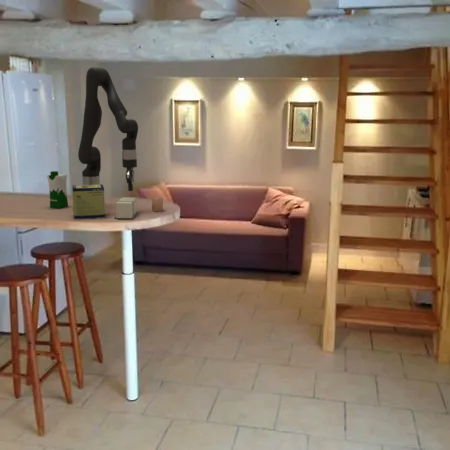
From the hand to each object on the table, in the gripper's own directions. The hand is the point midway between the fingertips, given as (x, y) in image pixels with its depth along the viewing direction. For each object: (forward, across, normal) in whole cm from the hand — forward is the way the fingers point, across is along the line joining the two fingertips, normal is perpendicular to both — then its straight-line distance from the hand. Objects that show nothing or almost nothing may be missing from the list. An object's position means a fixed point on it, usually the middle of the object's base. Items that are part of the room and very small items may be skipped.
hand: (130, 190), depth 283 cm
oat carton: (+7, +4, 0) cm, 8 cm away
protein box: (+11, +13, -19) cm, 26 cm away
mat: (+11, +13, 0) cm, 17 cm away
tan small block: (+11, -2, +14) cm, 18 cm away
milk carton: (+11, -11, -42) cm, 45 cm away
